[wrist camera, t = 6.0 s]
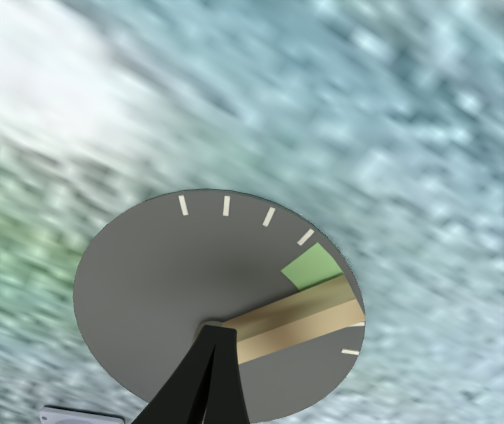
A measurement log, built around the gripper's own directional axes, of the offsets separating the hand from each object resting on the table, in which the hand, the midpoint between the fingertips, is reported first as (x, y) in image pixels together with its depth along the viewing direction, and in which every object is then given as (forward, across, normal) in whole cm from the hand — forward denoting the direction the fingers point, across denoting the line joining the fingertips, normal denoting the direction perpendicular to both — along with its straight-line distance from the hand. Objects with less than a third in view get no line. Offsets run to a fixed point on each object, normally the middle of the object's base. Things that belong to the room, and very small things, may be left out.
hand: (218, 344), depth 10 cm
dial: (+7, +1, +6) cm, 9 cm away
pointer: (+6, -3, +3) cm, 7 cm away
